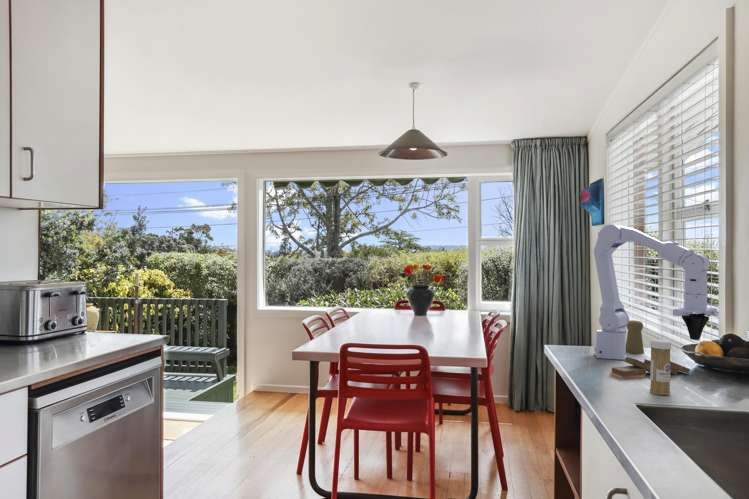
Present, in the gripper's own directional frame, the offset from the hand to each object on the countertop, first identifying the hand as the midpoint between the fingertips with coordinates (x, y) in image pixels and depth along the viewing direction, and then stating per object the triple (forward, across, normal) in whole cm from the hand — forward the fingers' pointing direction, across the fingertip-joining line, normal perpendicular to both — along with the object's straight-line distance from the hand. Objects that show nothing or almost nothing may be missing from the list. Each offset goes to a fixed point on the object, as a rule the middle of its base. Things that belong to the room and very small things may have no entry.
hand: (694, 339), depth 150 cm
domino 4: (+9, -9, 0) cm, 12 cm away
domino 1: (+8, -20, 0) cm, 22 cm away
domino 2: (+10, -20, 0) cm, 22 cm away
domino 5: (+9, -5, 0) cm, 10 cm away
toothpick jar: (+10, -29, -16) cm, 35 cm away
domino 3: (+8, -15, 0) cm, 17 cm away
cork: (+10, +3, +26) cm, 28 cm away
